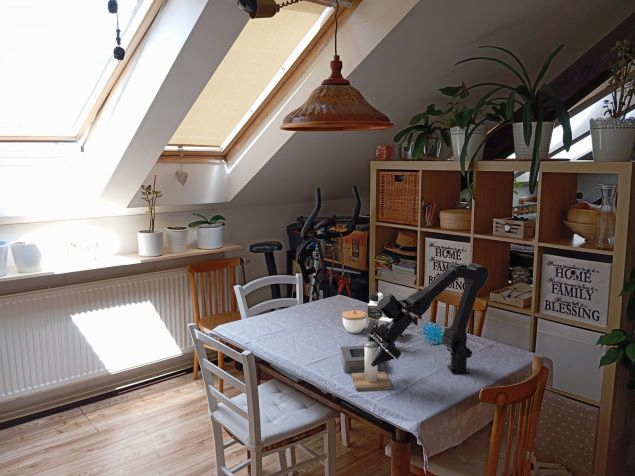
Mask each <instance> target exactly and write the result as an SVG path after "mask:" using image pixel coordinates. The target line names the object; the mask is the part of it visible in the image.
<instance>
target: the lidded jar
mask: <svg viewBox="0 0 635 476" xmlns="http://www.w3.org/2000/svg"><path fill="white" fill-rule="evenodd" d="M367 318H368V313H366V312H365V311H363V310H356V309H354V310H346V311H344V312H342V324H343V327H344V328H345V330H346V331H347V332H348V333H351V334H359V333H361V332H362V330H364V328H365V327H366V324H367Z"/></svg>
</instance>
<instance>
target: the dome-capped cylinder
mask: <svg viewBox="0 0 635 476" xmlns="http://www.w3.org/2000/svg"><path fill="white" fill-rule="evenodd" d="M364 346H365V372H364V373H365V381H367V382H376V381H377V380H378V372H379V371H378V365H376V366H374V367H373V366H372V365H371V364H372V362H373V360H374V359H375V358H376V356H377V343H376V342H372V341H369V342H368V341H365V342H364Z"/></svg>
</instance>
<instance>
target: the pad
mask: <svg viewBox="0 0 635 476" xmlns="http://www.w3.org/2000/svg"><path fill="white" fill-rule="evenodd" d="M386 373H387V372H386V371H378V380H377V381H376V382H367V381H365V372H351V378H352V381H353V384H354V388H355V390H356V392H358V391H359V392H360V391H361V392H363V391H378V390H380V391H382V390H393V386H392V383H391V382H390V380H389V377H388V376H387V374H386Z"/></svg>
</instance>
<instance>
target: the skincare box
mask: <svg viewBox="0 0 635 476" xmlns="http://www.w3.org/2000/svg"><path fill="white" fill-rule="evenodd" d="M392 319H393V318H392ZM392 319H389V318H388V317H387V316H384V317H382V318H380V319H379V320H378V322H379V323H382V324H385V323H386V322H388V323H390V322H391V320H392ZM378 343H379V344H380V345H381V347H383V346H382V343H380V342H378ZM394 344H395V345H396V342H395V343H394ZM383 348H384V347H383ZM378 349H380V347H378Z"/></svg>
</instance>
